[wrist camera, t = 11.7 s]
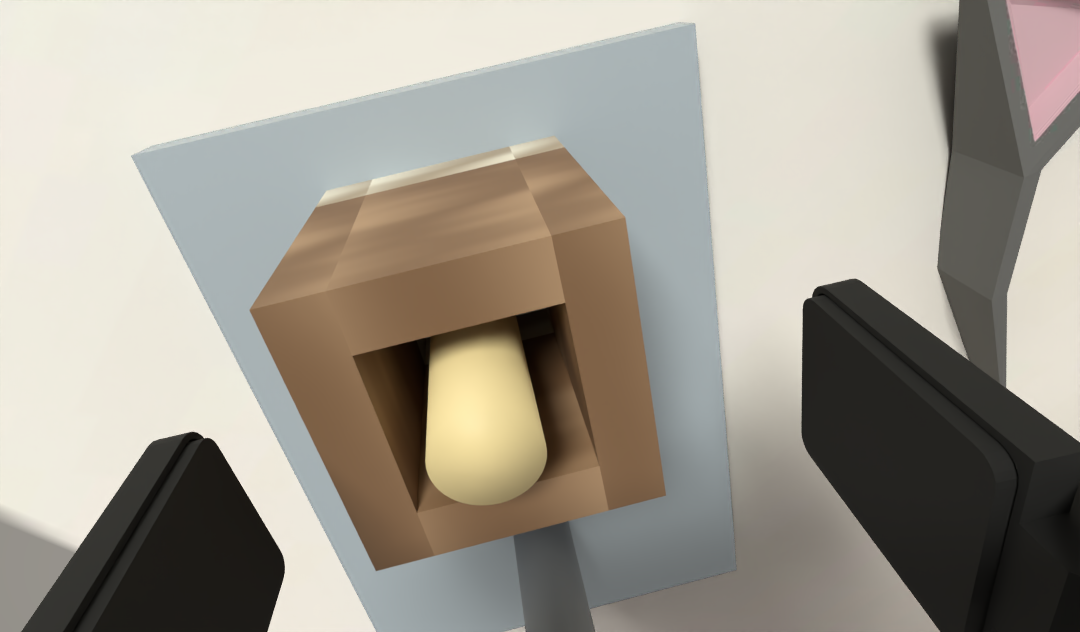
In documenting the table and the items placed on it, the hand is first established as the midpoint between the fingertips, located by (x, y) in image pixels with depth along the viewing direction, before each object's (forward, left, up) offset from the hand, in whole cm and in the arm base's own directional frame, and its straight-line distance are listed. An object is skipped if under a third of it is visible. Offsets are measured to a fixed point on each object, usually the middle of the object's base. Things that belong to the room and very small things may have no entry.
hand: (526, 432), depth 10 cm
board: (+1, +5, -9) cm, 11 cm away
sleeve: (+1, 0, -8) cm, 8 cm away
